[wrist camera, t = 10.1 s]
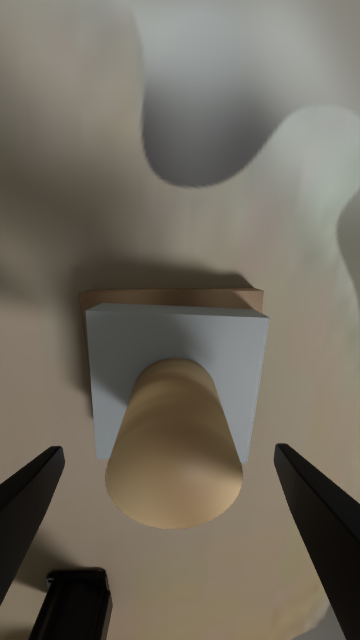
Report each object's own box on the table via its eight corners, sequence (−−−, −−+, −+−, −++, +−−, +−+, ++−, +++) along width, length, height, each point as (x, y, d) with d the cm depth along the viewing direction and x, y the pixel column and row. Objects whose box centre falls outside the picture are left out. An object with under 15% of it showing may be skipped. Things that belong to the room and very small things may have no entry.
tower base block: (109, 421, 19) (99, 444, 16) (94, 288, 16) (79, 292, 13) (240, 419, 19) (250, 441, 16) (250, 287, 16) (263, 290, 13)
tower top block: (108, 429, 16) (96, 458, 13) (102, 302, 13) (85, 310, 11) (236, 433, 16) (247, 463, 14) (253, 309, 14) (269, 317, 11)
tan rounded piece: (136, 431, 13) (113, 531, 8) (129, 359, 12) (96, 427, 7) (215, 428, 13) (238, 526, 8) (217, 356, 12) (247, 421, 7)
